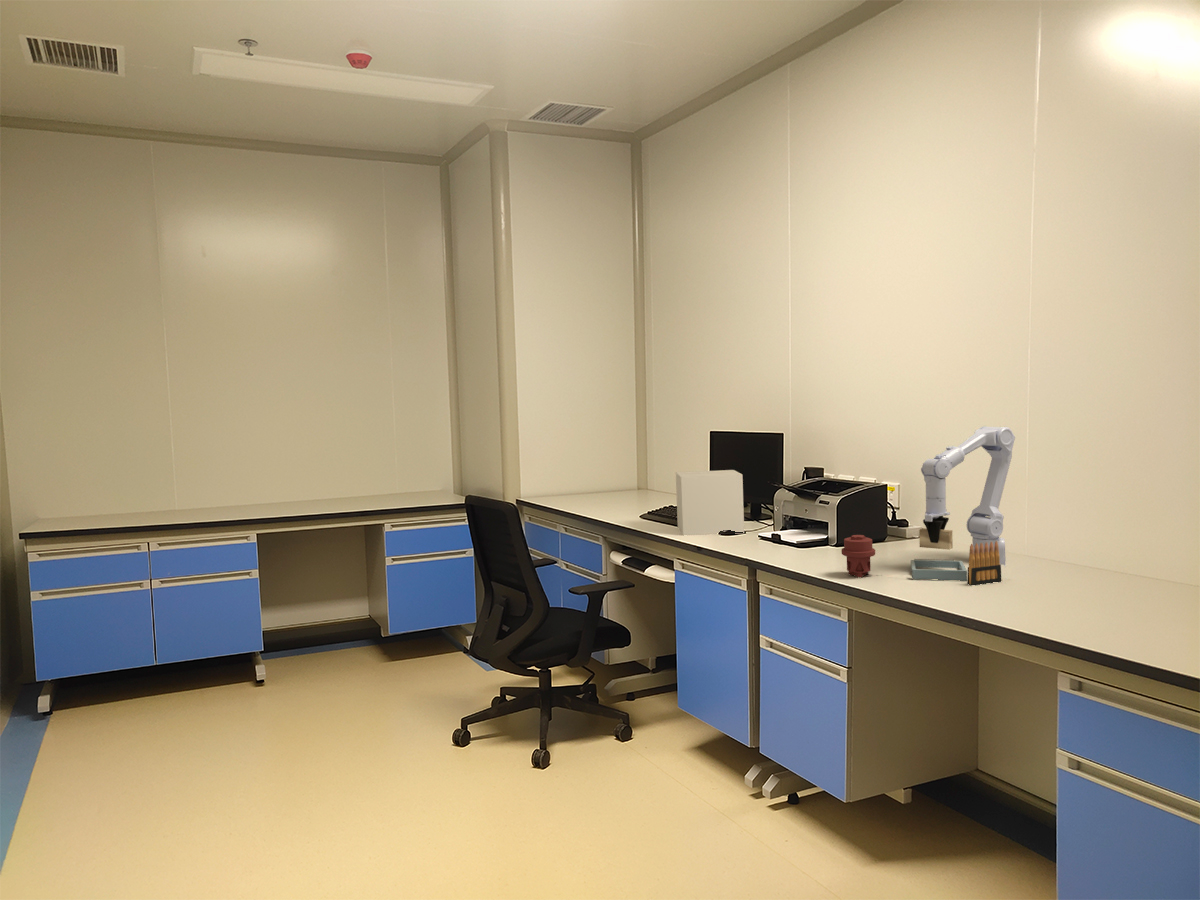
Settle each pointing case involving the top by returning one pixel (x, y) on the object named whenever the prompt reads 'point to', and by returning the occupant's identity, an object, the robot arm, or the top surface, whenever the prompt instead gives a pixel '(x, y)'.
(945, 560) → the mounting plate
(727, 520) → the cube
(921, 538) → the wooden block
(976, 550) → the ammunition clip
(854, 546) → the mechanical component
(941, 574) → the bin
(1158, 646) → the top surface
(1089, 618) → the top surface
